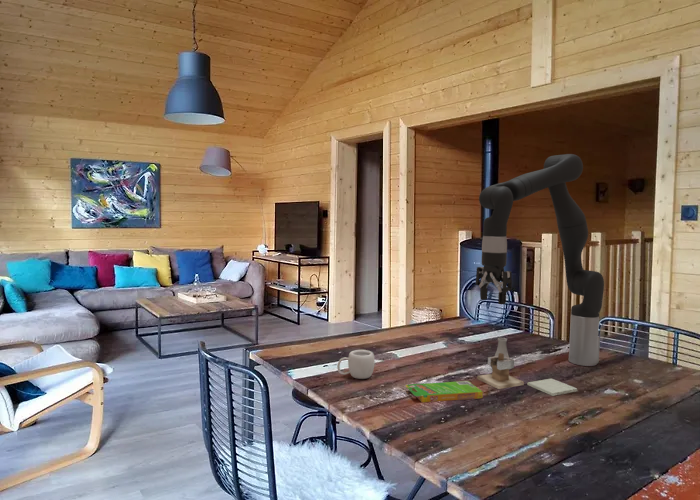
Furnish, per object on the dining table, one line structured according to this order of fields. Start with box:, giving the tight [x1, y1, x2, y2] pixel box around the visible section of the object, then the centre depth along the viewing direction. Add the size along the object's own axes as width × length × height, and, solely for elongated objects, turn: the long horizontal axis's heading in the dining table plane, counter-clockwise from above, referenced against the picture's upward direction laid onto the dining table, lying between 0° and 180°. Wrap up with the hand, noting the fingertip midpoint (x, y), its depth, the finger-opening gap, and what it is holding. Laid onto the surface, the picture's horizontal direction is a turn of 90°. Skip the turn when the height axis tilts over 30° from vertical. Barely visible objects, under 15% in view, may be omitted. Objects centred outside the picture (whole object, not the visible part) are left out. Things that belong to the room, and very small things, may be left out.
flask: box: [494, 337, 512, 370], centre depth 175 cm, size 7×7×10 cm
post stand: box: [476, 353, 525, 390], centre depth 159 cm, size 10×10×9 cm
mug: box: [336, 349, 375, 380], centre depth 163 cm, size 12×8×8 cm
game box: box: [405, 380, 484, 403], centre depth 148 cm, size 3×10×20 cm
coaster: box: [527, 378, 578, 397], centre depth 155 cm, size 10×10×1 cm
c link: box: [487, 355, 515, 370], centre depth 159 cm, size 6×6×2 cm
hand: (492, 301), depth 160 cm, fingers open, 8 cm apart
